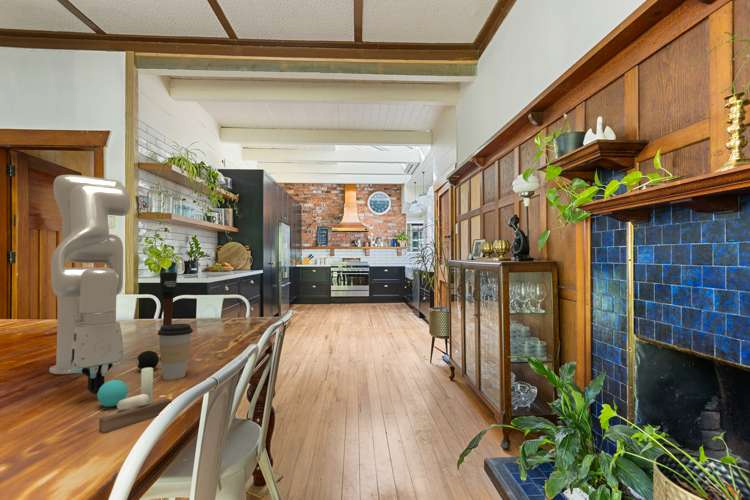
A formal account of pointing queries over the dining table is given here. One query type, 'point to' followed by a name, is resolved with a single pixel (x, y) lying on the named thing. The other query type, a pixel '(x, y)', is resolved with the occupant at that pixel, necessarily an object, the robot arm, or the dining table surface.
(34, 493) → the dining table surface
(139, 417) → the walnut rail
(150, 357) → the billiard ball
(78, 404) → the dining table surface
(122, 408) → the cream pin
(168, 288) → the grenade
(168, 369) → the coffee cup
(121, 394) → the ball
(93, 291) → the robot arm
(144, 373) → the sage pin
